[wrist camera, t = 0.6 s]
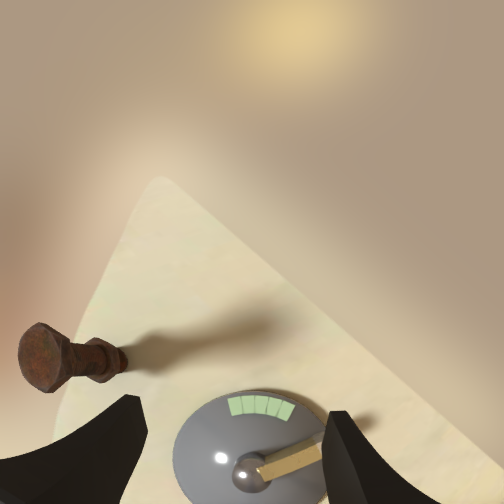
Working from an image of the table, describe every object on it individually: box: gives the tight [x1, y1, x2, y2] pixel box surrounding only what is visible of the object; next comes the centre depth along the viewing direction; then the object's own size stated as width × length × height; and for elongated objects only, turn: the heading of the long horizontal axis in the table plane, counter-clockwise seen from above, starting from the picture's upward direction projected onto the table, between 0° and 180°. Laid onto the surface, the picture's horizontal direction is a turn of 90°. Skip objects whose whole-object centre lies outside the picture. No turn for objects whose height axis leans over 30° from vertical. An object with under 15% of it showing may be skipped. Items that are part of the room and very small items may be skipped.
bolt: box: [18, 322, 128, 393], centre depth 26 cm, size 6×5×15 cm
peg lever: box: [232, 431, 325, 494], centre depth 27 cm, size 11×4×3 cm, turn 114°
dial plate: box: [173, 391, 327, 504], centre depth 29 cm, size 18×18×1 cm
